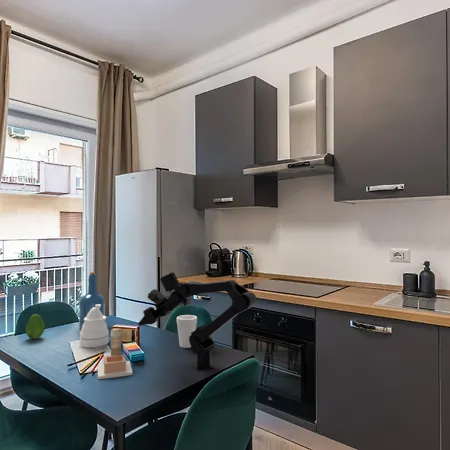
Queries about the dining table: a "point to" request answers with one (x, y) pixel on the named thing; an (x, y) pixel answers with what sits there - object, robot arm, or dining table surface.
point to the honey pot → (94, 329)
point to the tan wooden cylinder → (115, 342)
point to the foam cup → (186, 329)
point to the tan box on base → (114, 367)
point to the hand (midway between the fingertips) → (144, 321)
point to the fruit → (35, 327)
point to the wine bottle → (90, 300)
